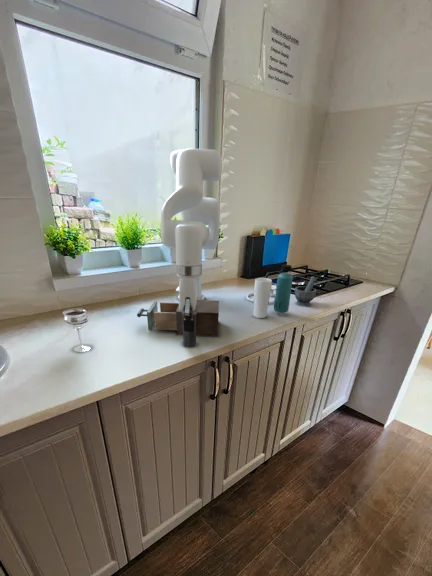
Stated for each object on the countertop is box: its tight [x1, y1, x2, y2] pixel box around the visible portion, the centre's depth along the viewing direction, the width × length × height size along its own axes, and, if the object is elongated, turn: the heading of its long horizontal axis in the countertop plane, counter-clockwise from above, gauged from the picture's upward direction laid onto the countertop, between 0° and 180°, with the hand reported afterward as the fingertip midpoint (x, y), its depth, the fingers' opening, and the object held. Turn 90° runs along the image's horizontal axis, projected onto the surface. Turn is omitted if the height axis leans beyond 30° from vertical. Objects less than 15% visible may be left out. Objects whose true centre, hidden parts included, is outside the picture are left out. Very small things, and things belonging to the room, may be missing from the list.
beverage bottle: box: [273, 264, 294, 314], centre depth 133 cm, size 6×7×20 cm
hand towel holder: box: [245, 284, 277, 305], centre depth 156 cm, size 17×4×21 cm
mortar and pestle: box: [294, 276, 317, 307], centre depth 148 cm, size 11×9×12 cm
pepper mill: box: [181, 307, 197, 348], centre depth 104 cm, size 5×5×14 cm
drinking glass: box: [252, 277, 273, 319], centre depth 130 cm, size 7×7×15 cm
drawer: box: [136, 300, 179, 332], centre depth 118 cm, size 18×13×7 cm
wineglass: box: [62, 308, 91, 353], centre depth 99 cm, size 7×7×12 cm
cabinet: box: [176, 299, 220, 338], centre depth 118 cm, size 15×15×9 cm
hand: (189, 327), depth 105 cm, fingers closed on pepper mill, 4 cm apart
